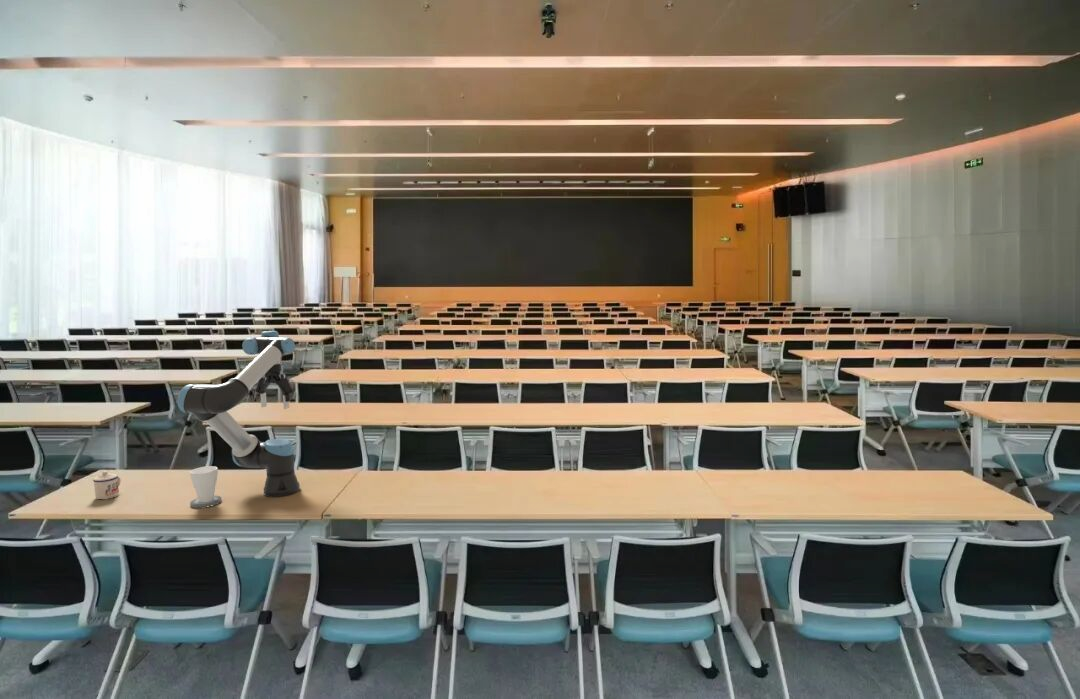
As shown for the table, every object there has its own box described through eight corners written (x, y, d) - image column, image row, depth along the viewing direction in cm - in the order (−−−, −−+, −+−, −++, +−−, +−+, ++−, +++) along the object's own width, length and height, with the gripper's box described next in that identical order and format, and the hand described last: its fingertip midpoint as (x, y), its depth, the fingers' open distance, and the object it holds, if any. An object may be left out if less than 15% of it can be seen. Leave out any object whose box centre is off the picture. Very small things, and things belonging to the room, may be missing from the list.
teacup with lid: (108, 500, 274) (105, 475, 272) (89, 499, 275) (87, 474, 274) (129, 491, 285) (127, 466, 284) (112, 490, 287) (109, 466, 285)
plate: (228, 499, 272) (227, 497, 271) (204, 509, 260) (204, 506, 260) (207, 496, 276) (207, 494, 276) (183, 506, 265) (183, 503, 264)
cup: (192, 498, 270) (189, 468, 269) (219, 494, 275) (217, 464, 274) (192, 506, 261) (189, 475, 259) (220, 501, 266) (217, 470, 265)
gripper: (298, 363, 293) (301, 407, 296) (257, 361, 302) (260, 404, 304) (287, 365, 286) (290, 410, 289) (245, 363, 295) (248, 407, 297)
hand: (275, 407), depth 296 cm, fingers open, 13 cm apart
